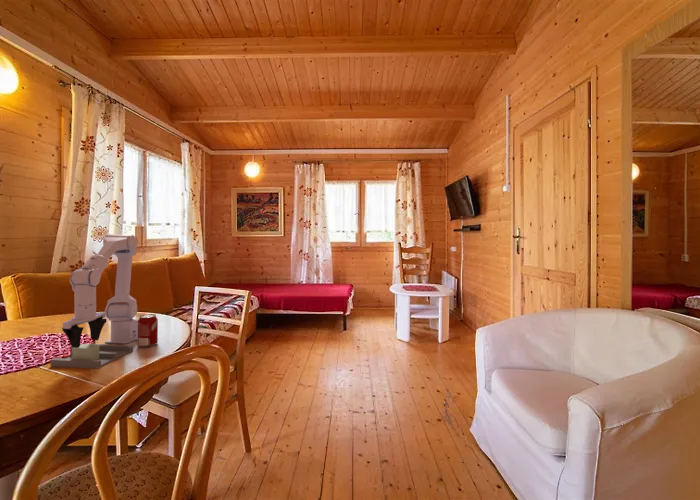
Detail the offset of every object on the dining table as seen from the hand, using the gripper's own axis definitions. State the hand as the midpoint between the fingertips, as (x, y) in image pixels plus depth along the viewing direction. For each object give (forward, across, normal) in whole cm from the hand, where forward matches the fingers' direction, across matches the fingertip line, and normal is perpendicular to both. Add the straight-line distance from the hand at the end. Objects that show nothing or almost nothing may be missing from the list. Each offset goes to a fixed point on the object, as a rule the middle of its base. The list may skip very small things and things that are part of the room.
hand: (85, 343), depth 109 cm
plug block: (+6, 0, 0) cm, 6 cm away
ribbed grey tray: (+6, -4, 0) cm, 7 cm away
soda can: (+7, -18, +9) cm, 22 cm away
